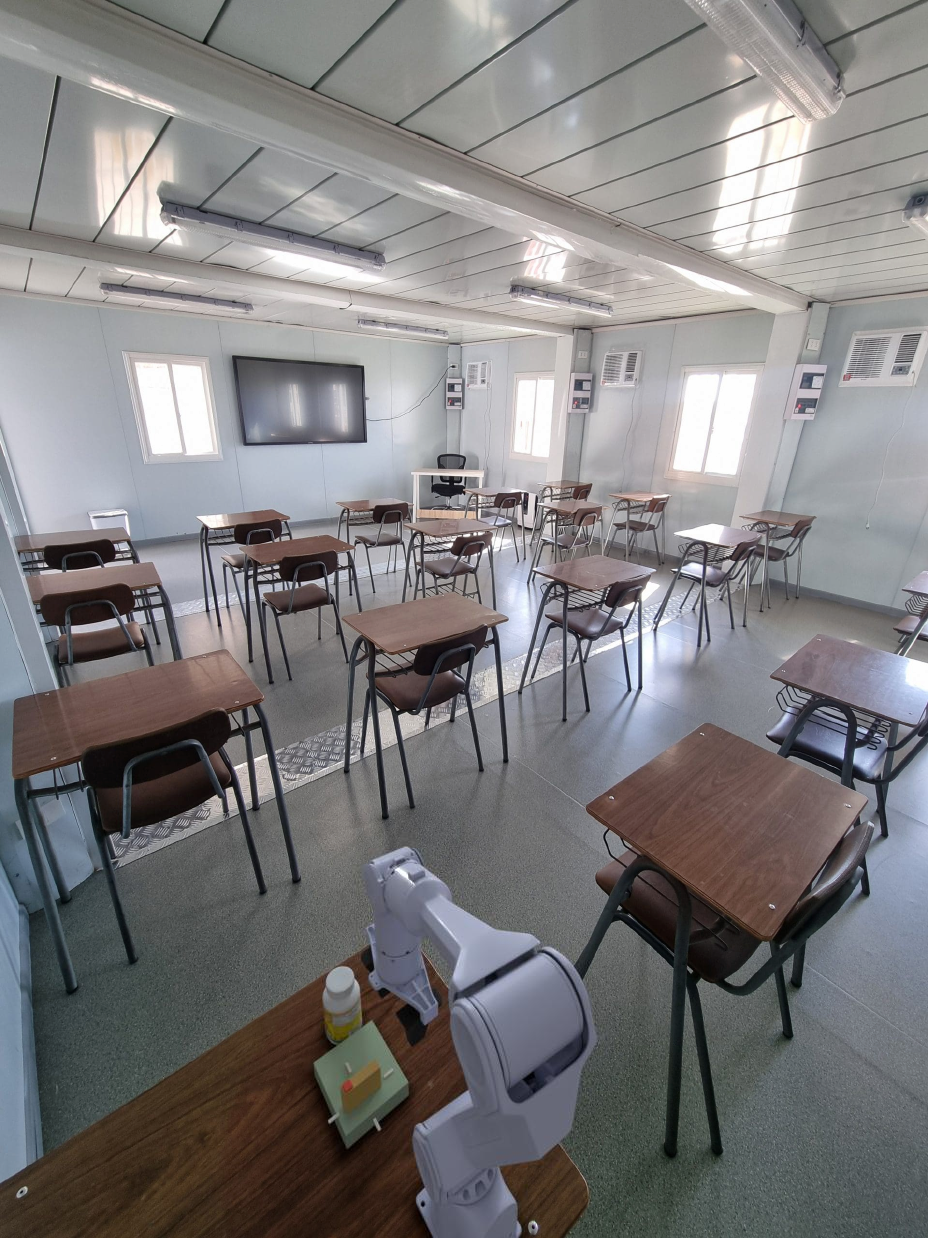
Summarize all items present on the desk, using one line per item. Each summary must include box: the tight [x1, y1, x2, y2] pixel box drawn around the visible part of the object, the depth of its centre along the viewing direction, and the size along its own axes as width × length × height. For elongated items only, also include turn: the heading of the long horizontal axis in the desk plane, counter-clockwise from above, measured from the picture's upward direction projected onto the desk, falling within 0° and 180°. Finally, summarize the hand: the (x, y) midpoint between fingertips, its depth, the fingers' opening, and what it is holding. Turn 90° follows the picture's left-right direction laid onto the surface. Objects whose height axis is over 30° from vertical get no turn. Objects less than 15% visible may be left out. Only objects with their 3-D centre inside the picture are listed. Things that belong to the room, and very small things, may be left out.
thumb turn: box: [340, 1059, 381, 1114], centre depth 64 cm, size 5×1×4 cm, turn 128°
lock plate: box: [312, 1019, 410, 1149], centre depth 67 cm, size 12×10×3 cm
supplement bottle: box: [322, 966, 363, 1046], centre depth 74 cm, size 5×5×10 cm
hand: (401, 1015), depth 67 cm, fingers open, 7 cm apart
